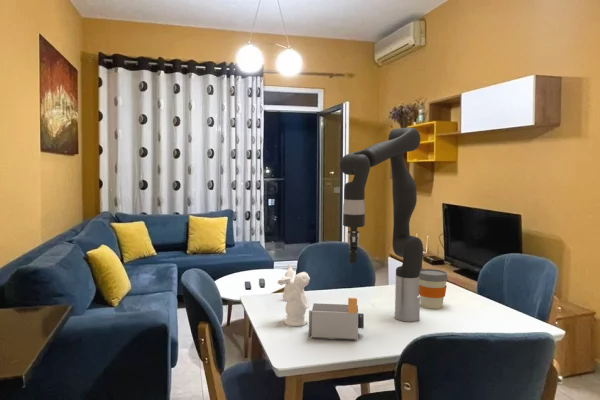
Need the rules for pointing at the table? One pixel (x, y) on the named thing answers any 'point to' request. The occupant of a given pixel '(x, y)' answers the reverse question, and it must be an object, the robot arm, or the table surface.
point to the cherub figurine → (295, 297)
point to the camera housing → (338, 309)
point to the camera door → (335, 322)
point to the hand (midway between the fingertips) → (353, 261)
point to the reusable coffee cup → (432, 288)
